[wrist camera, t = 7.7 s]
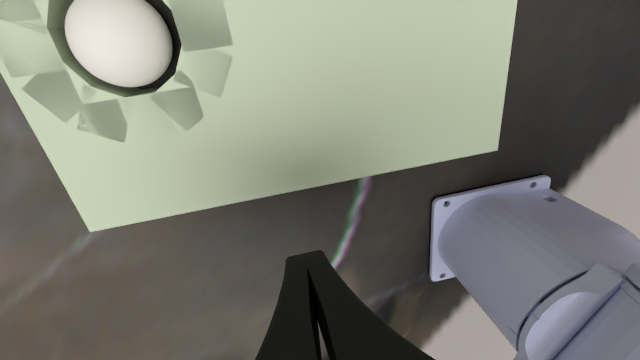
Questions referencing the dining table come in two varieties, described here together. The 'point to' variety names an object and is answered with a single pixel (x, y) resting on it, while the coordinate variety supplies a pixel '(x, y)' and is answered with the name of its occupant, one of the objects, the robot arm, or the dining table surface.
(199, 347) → the dining table surface
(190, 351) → the dining table surface
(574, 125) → the dining table surface
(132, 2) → the ball
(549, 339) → the robot arm
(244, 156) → the putting deck
